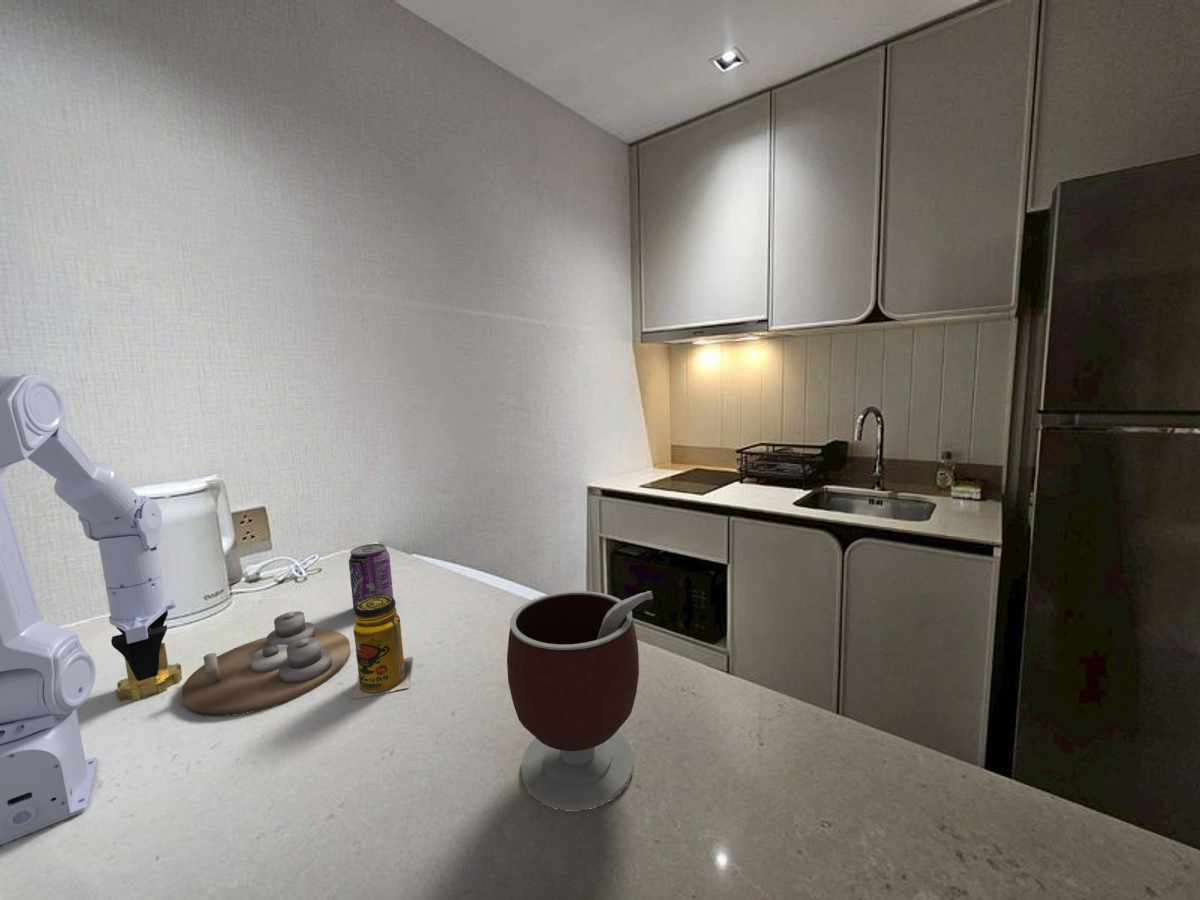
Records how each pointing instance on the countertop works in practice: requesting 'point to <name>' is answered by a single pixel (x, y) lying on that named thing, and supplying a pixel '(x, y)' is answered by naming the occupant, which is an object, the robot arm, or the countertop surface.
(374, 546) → the beverage can
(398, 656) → the condiment
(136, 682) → the brass gear
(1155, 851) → the countertop surface
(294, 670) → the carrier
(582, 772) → the mate gourd
